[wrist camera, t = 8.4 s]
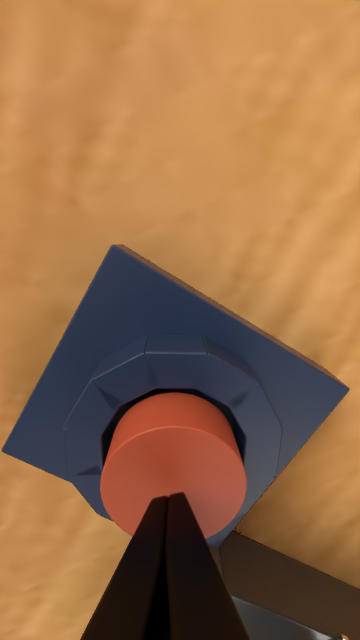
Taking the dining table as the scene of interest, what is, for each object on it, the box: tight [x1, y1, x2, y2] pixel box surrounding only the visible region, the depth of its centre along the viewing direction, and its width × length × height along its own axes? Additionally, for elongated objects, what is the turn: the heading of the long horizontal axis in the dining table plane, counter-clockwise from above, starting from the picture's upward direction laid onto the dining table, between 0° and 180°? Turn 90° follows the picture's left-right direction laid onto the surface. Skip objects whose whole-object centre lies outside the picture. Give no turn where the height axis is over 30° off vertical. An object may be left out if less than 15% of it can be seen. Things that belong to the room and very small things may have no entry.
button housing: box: [2, 245, 350, 547], centre depth 11 cm, size 10×9×4 cm
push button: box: [100, 392, 247, 539], centre depth 9 cm, size 4×4×2 cm
